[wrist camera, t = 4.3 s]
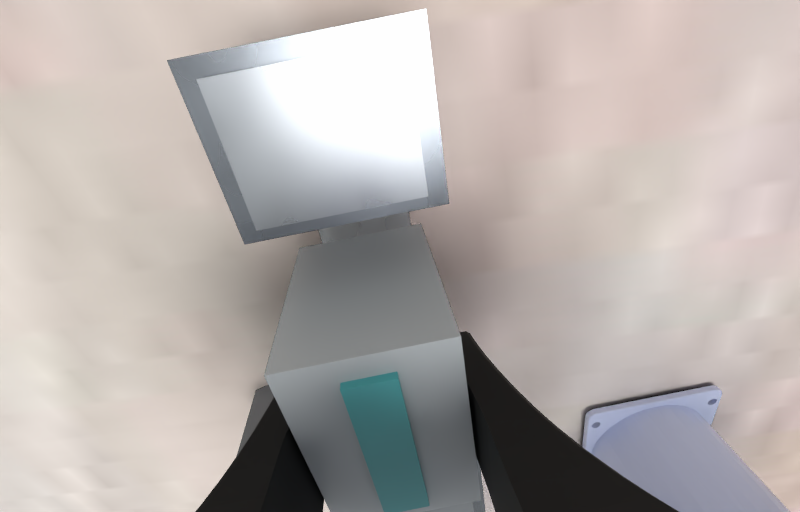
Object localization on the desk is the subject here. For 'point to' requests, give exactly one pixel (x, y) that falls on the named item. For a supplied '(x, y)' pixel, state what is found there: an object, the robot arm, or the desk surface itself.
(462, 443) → the grey module
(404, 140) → the rail
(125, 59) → the desk surface
